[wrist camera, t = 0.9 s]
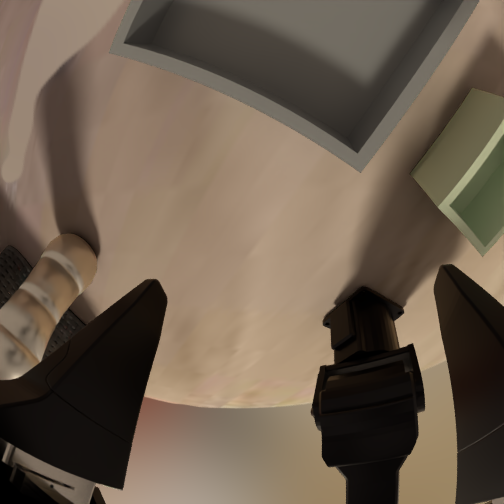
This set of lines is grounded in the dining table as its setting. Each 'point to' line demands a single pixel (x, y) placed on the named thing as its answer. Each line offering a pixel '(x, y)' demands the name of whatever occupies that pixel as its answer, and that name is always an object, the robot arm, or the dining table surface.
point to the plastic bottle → (43, 303)
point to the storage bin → (9, 280)
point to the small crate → (469, 169)
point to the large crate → (303, 58)
